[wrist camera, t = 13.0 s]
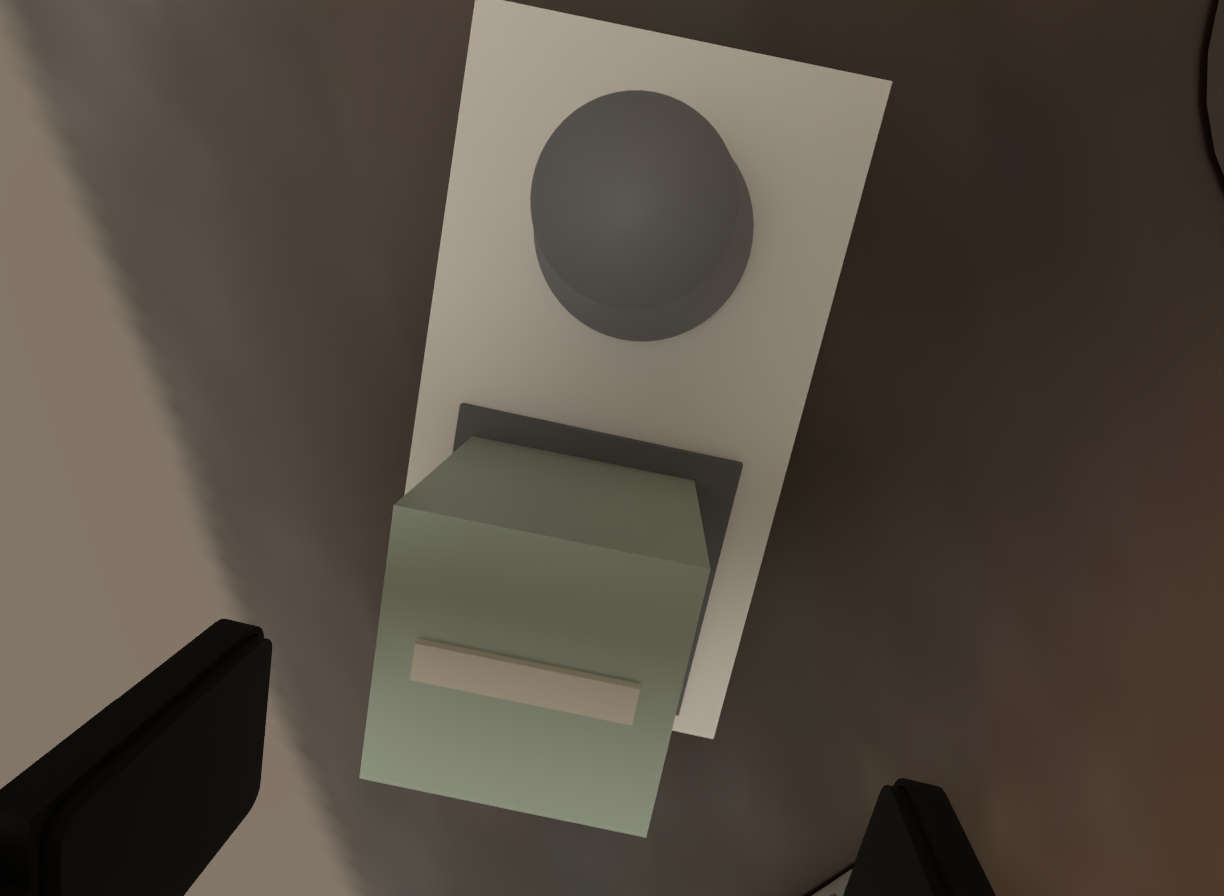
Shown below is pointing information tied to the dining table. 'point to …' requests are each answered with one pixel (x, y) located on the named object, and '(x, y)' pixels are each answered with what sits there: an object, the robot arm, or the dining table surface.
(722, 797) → the dining table surface
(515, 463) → the green slotted box
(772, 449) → the post board
